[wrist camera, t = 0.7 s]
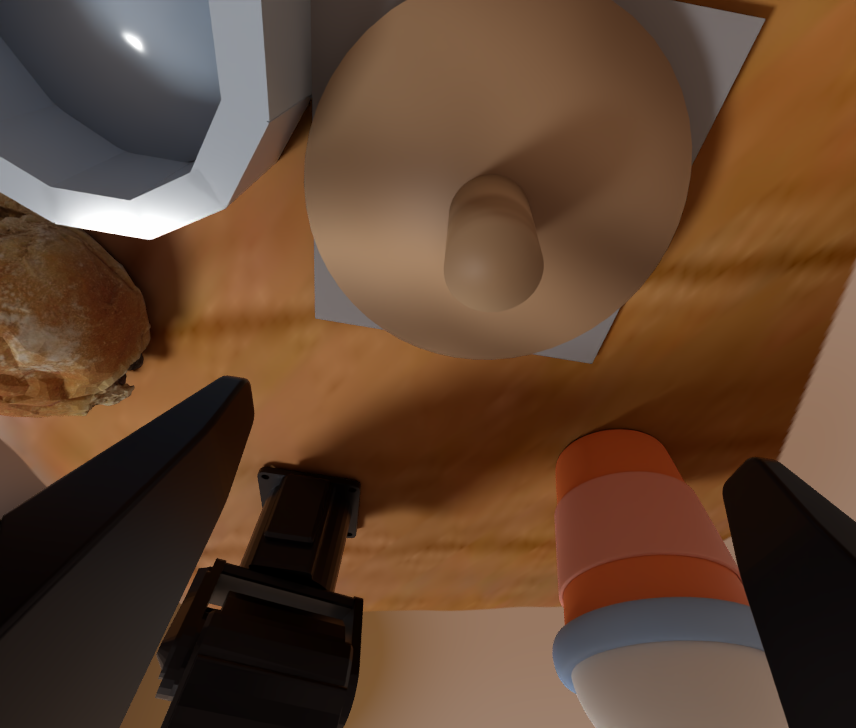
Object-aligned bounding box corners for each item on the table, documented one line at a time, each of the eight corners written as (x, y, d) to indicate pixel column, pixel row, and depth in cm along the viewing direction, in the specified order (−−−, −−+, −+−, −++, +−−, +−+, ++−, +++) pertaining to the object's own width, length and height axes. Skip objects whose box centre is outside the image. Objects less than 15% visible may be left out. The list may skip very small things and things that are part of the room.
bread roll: (167, 198, 22) (5, 171, 14) (194, 400, 24) (69, 470, 17) (-22, 200, 23) (-274, 175, 15) (24, 396, 25) (-171, 461, 17)
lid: (591, 363, 21) (619, 451, 17) (315, 317, 21) (278, 396, 17) (765, 19, 13) (896, 33, 9) (309, -72, 12) (233, -100, 8)
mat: (590, 358, 22) (591, 363, 21) (317, 313, 21) (315, 318, 21) (758, 18, 13) (765, 18, 13) (313, -70, 13) (309, -72, 12)
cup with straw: (534, 511, 30) (588, 960, 16) (524, 416, 24) (594, 979, 11) (683, 503, 28) (886, 998, 14) (709, 399, 23) (1081, 1043, 9)
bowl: (316, 208, 18) (279, 261, 14) (30, 158, 17) (-80, 201, 14) (311, -244, 11) (236, -352, 7) (-171, -347, 10) (-493, -514, 7)
